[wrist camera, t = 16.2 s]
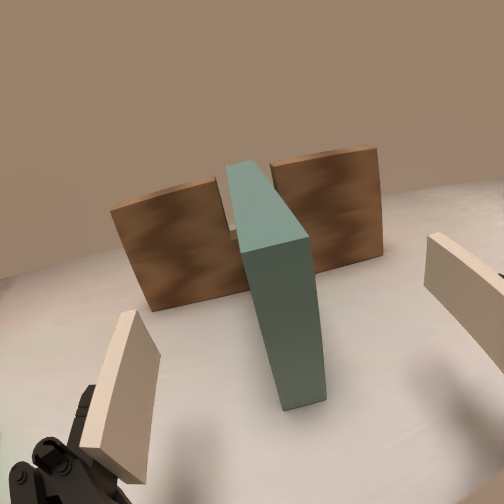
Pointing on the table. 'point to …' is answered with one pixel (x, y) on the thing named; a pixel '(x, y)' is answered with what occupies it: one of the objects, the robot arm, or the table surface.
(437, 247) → the robot arm
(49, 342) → the table surface
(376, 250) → the notched brown wooden panel
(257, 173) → the cross plate
